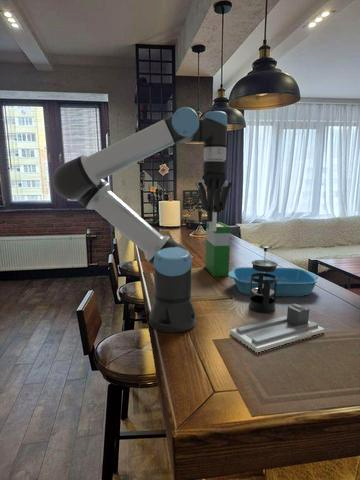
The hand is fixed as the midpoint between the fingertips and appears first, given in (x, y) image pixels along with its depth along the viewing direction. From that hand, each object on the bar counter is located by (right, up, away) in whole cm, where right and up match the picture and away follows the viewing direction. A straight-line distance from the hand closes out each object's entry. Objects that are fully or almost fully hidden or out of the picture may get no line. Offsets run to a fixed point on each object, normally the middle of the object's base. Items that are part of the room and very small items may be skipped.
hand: (212, 230), depth 110 cm
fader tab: (+25, -29, -12) cm, 40 cm away
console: (+18, -32, -15) cm, 39 cm away
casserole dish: (+28, -25, +25) cm, 45 cm away
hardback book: (+7, -19, +51) cm, 55 cm away
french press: (+18, -28, +4) cm, 34 cm away
